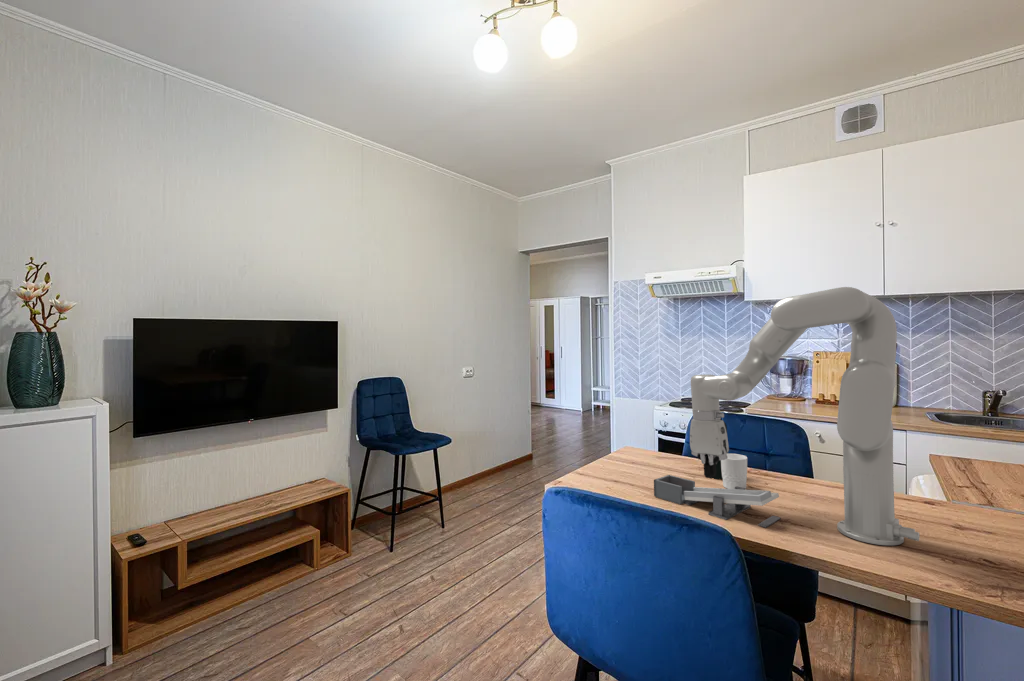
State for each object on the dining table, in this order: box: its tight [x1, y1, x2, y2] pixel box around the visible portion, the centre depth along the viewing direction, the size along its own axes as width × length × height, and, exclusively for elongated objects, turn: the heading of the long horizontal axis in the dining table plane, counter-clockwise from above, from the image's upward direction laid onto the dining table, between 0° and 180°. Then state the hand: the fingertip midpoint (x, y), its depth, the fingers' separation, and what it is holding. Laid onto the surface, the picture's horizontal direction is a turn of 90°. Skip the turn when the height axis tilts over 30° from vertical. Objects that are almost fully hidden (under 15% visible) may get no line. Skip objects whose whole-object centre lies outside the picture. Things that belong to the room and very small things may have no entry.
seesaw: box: [683, 486, 780, 507], centre depth 125 cm, size 22×10×2 cm, turn 37°
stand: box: [683, 486, 782, 529], centre depth 125 cm, size 23×14×5 cm, turn 37°
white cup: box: [721, 453, 748, 490], centre depth 145 cm, size 8×8×10 cm
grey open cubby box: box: [653, 474, 696, 506], centre depth 136 cm, size 9×8×5 cm
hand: (710, 477), depth 133 cm, fingers closed
